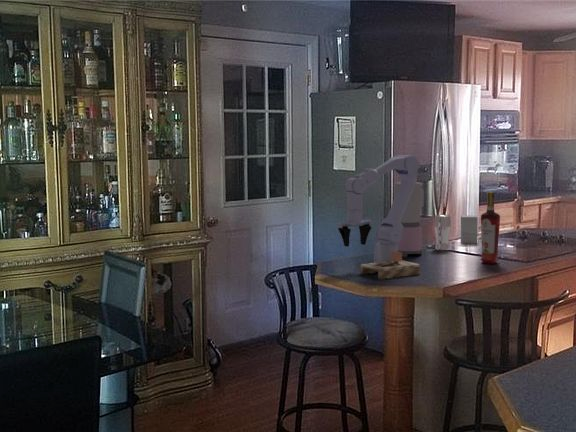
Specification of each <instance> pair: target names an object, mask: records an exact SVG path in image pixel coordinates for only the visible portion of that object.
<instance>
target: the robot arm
mask: <svg viewBox="0 0 576 432" xmlns="http://www.w3.org/2000/svg"><path fill="white" fill-rule="evenodd" d="M419 169H420V160H419V159H418V157H417V156H416V155H414V154H410V155H406V154H404V155H402V154H396V155H394V156H391V157H390V158H389V159H388V160H386V161H384V163H382V164H380V165H379V166H377V167H376V168H374V169H373V168H368V167H367V168H365V169H364V171H362V172H361V173H359V174H355V176H354V177H349V178H347V179H346V181H345V183H344V185H343V189H344V191H345V193H346V202H347V203H346V212H347V215H346V216H347V218H346V220H344V221H340V222H339V221H338V222H337V226H336V227H337V229H338V232H339V234H340V235H341V237H342V238H341V239H342V242H343V246H344V247H349V246H350V236H351V235H350V234H351V231H352V229H351V227H352V228H353V227H358V229H359V236H360V237H359V238H360V242H359V243H360V245H362V246H363V245H364V246H365V245H366V243H367V239H368V236H369V234H370V231H371V230H372V225H373V223H372V222H373V220H372V219H363V193H364V192H365V191H366V189H367V188H368V187H370V186H372V185H374V184H375V183H377V182H378V181H379V178H380V177H381V176H384V175H385V174H387V173H389V172H392V171H395V173H396V174H397V175H398V177H399V178H400V180H401V184H400V186H399V189H398V191H397V194H396V196H395V195H394V199H393V202H392V205H391V206H390V209H389V212H388V214H387V216H386V217H385V218H383V219H382V220H381V221H380V224H379V225H378V226H377V227H376V229H375V231H374V232H375V233H374V235H375V237H376V239H377V240H378V241H377V243H376V244H374V248H373V263H376V262H384V261H390V252H396V251H397V252H398V243H399V241H400V240H401V237H402V230H403V226H402V224H401V219H402V217H403V214H404V212H405V209H406V207H407V204H408V202H409V199H410V197H411V194H412V191H413V189H414V186H415V184H416V182H417V179H418V171H419Z"/></svg>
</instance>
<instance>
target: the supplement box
mask: <svg viewBox="0 0 576 432" xmlns="http://www.w3.org/2000/svg"><path fill="white" fill-rule="evenodd" d="M478 219H479V217H478V216H477V215H475V214H472V215H471V214H470V215H467V214H465V215H463V214H462V215H460V242H461V244H478V226H479V225H478V222H479V221H478Z"/></svg>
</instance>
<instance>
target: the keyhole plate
mask: <svg viewBox="0 0 576 432" xmlns="http://www.w3.org/2000/svg"><path fill="white" fill-rule="evenodd" d="M420 270H421V265H420V264H419V263H416V262H413V261H412V262H411V261H406V260H403V259H402V261H398V264H395V265H394V261H384V262H376V263H374V262H369V263H361V264H360V275H362V274H363V275H368V274H367V273H370V274H375V273H376V272H378V273H377V279H378V280H386V279H385V278H387V279H393V277H395V278H400V277H401V276H402V277H407V276H414V275H415V276H416V275H420V273H421V271H420Z"/></svg>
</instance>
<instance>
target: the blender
mask: <svg viewBox="0 0 576 432" xmlns="http://www.w3.org/2000/svg"><path fill="white" fill-rule="evenodd" d="M400 184H401V182H400V181H398V182H395V183H394V197H395V196H396V194H397V191H398V189H399V186H400ZM425 194H426V193H425V188H424V186H422V183H421V182H419V181H418V182H417V181H416V184H415V186H414V189H413V191H412V194H411V197H410V199H409V202H408V204H407V207H406V209H405V212H404V214H403V217H402V219H401V224H402V226H403V230H402V237H401V240H400V241H399V243H398V252H402V258H403V257H405V258H408V255H415V254H416V255H417V254H420V256H422V255H423V229H422V227H421V224H420V218H421V213H422V209H424V208H425Z"/></svg>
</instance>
